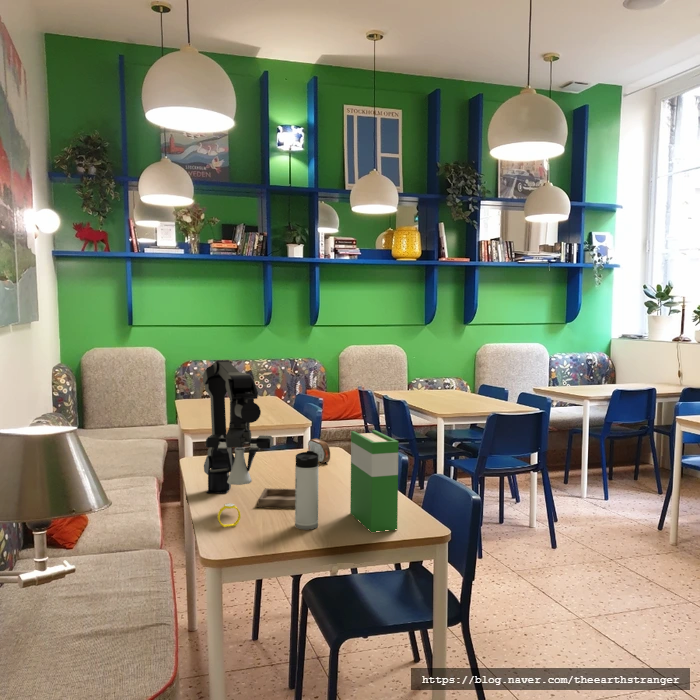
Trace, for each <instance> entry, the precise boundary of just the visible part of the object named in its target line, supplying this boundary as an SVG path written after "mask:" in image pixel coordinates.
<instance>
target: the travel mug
mask: <svg viewBox="0 0 700 700" xmlns="http://www.w3.org/2000/svg"><path fill="white" fill-rule="evenodd" d="M319 467H320V466H319V462H318V454H317V453H314V451H308V450H307V451H303V452H302V451H301V452H300V453H297V454H296V455H295V468H294V469H295V470H294V471H295V473H294V474H295V475H294V476H295V477H294V484H295V485H294V486H295V487H294V489H295V508H294V527H295V528H297V529H298V530H302V529H303V531H308V530H309V529H311V530H314V528H315V529H316V528H318V526H319V472H320V471H319Z"/></svg>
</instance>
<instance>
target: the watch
mask: <svg viewBox="0 0 700 700" xmlns="http://www.w3.org/2000/svg"><path fill="white" fill-rule="evenodd" d="M227 509H235V510H236V511H237V515H238V516H237V519H236V520H235V521H234V523H226V524H224V523H222V521H221V515H222V512H223V511H224V510H227ZM241 515H242V514H241V511H240V510H239V508H238V507H237V505H235V503H225V504H224V505H223V506H222V507H221V508H220V509H219V511H218V513H217V521H218V522H219V525H220V526H222V527H223V528H230V527H236V525H237V524H239V522H240V521H241Z"/></svg>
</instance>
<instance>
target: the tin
mask: <svg viewBox="0 0 700 700" xmlns="http://www.w3.org/2000/svg"><path fill="white" fill-rule="evenodd" d="M307 451H314V453H317V454H318V461H319V462H318V463H320V462H321V463H320V464H325V462H327V463H329V462H330V460H331V449H330V447H329V444H328V443H327V442H326V441H325V440H322V439H319V438H316V437H315V438H312V439H309V440H308V442H307Z"/></svg>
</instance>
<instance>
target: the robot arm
mask: <svg viewBox="0 0 700 700" xmlns="http://www.w3.org/2000/svg"><path fill="white" fill-rule="evenodd" d="M202 383H203V385H204V390H205V392H206V393H207V394H208V396H209V398H210V415H211V416H210V418H211V420H210V421H211V434H210V435H209V436H208V437H207V438H206V439H205V448H208V450H207V456H206V458H205V460H204V464H203V470H204V473H205V474H206V475H207V491H206V494H227V493H228V492H229V491H230V489H231V487H232V485H231V484H229V483H227V481H228V478H229V475H230V472H231V469H232V466H233V463H234V458H235V454H234V452H233V451H234V448H244V445H245V446H246V445H249V446H250V447H249V448H248V458H247V464H246V466H247V470H248V471H249V472H250V470H251V468H252V467H251V466H252V464H253V462H254V459H255V455H256V453H257V452H259V451H260V450H261V449H271V447H273V445H274V439H273V438H274V437H272V435H264V434H263V435H258V436H257V438H256V437H255V438H254V437H253V438H252V431H251V429H250V427H251V425H250V424H251V423H255V422H256V421H258V420H259V418H260V416H261V413H262V412H261V407H260V406H259V404H257V403H256V402H255V400H257V399H258V398H259V397H258V394H259V392H258V389H257V385H256V382H255V381H254V378H253V377H252V375H251V374H249V373H247V372H246V373H245V372H242V371H241V372H240V371H239V370H238V369H237V368H236V367H235V366H234V365H233V364H232V361H231V360H229V359H217V360H214V362H213V363H212V364H211V365H209V366H208V367H206V368H205V369H204V372H203V375H202ZM226 394H227V395H228V397H229V424H228V426H229V427H228V430H227V419H226V399H225V397H226Z"/></svg>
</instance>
